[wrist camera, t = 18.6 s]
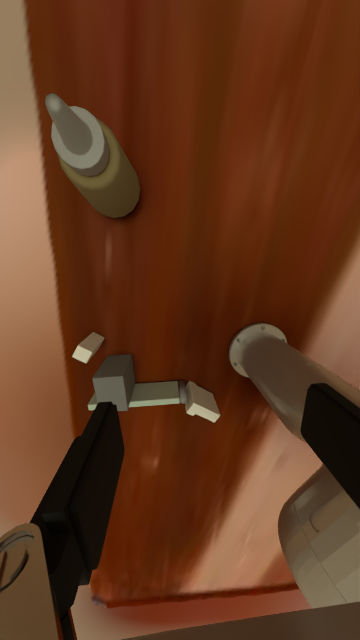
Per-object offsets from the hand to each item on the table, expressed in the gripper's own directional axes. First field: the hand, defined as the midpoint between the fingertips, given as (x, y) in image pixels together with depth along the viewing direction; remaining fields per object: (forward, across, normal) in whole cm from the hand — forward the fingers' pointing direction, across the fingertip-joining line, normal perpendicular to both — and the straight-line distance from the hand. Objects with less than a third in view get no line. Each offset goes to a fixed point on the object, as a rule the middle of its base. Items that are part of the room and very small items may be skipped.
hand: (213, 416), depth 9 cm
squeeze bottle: (+28, +9, -18) cm, 35 cm away
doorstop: (+28, +13, +14) cm, 34 cm away
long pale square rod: (+28, +9, +18) cm, 35 cm away
